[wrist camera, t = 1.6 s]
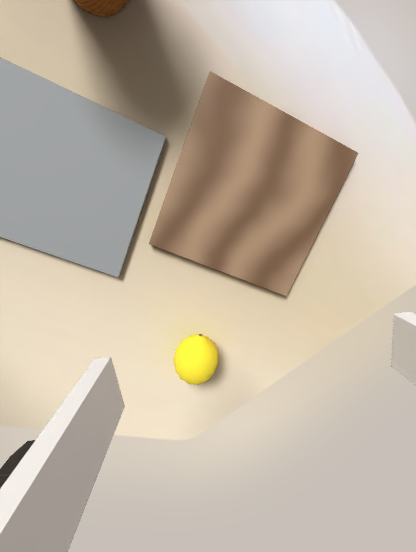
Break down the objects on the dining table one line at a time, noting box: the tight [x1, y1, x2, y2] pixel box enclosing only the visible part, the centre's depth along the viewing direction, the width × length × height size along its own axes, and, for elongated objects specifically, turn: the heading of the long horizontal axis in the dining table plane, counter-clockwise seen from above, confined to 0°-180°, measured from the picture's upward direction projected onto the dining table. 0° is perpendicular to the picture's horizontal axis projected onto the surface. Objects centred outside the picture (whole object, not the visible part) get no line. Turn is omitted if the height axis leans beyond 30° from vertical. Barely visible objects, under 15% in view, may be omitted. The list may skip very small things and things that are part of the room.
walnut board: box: [149, 72, 358, 296], centre depth 28 cm, size 18×18×1 cm
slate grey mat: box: [0, 57, 166, 277], centre depth 25 cm, size 16×16×1 cm
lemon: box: [174, 334, 218, 385], centre depth 30 cm, size 7×5×5 cm
